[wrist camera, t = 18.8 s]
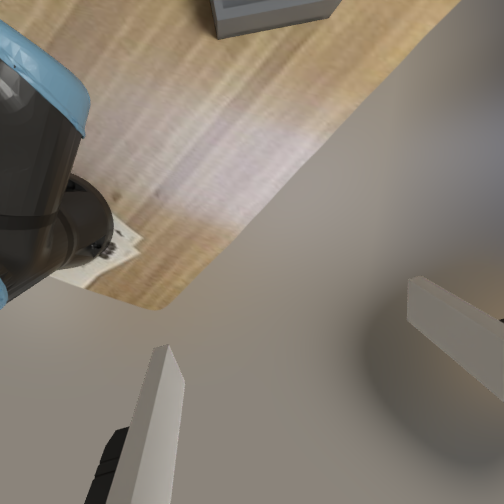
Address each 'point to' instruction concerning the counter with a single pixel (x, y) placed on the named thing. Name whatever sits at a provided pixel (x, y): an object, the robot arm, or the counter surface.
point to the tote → (266, 14)
